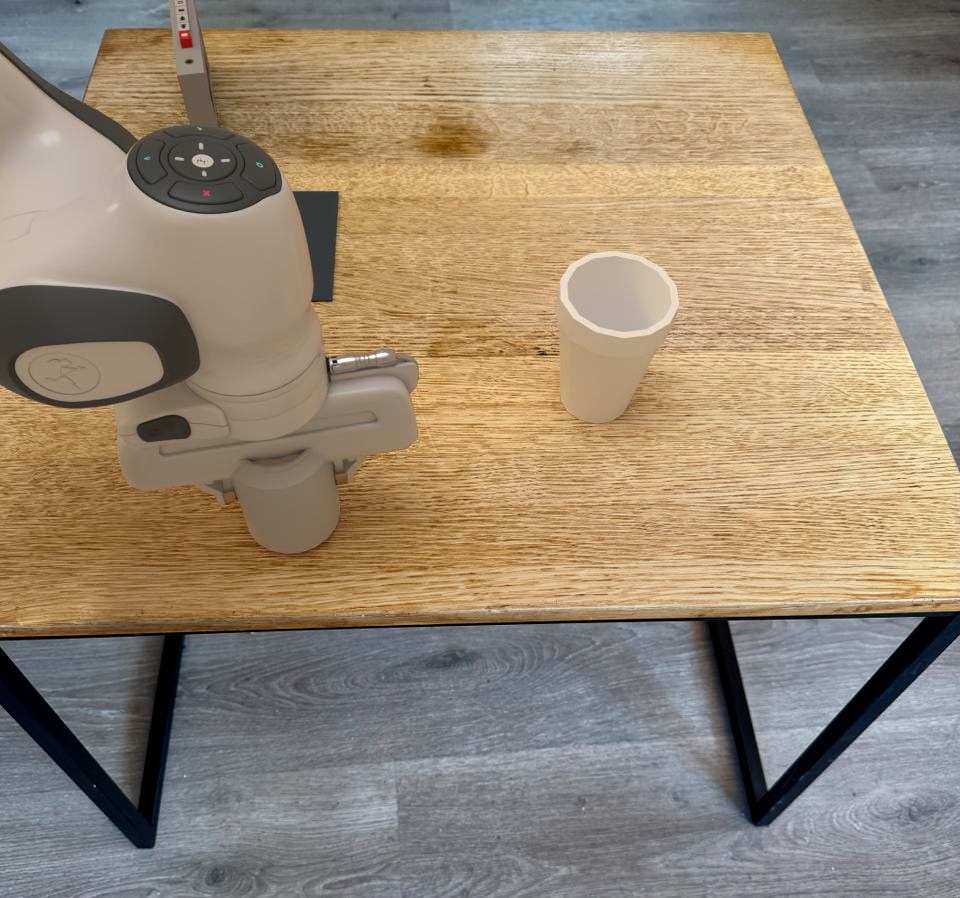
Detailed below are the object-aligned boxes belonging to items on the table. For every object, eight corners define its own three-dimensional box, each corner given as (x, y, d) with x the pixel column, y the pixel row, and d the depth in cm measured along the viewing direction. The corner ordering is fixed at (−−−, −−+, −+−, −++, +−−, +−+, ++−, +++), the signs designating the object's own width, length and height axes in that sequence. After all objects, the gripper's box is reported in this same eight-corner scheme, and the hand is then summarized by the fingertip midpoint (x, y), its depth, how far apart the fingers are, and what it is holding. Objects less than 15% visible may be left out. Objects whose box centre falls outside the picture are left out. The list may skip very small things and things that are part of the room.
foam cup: (665, 393, 80) (701, 290, 69) (607, 455, 75) (636, 357, 65) (581, 340, 83) (603, 234, 72) (521, 397, 79) (535, 294, 68)
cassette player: (221, 147, 97) (202, 63, 89) (196, 150, 96) (174, 66, 88) (209, 67, 105) (190, -17, 97) (186, 69, 105) (165, -14, 97)
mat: (162, 302, 83) (162, 301, 83) (185, 192, 92) (185, 191, 92) (332, 301, 84) (332, 299, 84) (338, 192, 94) (338, 191, 93)
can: (253, 568, 68) (223, 486, 58) (242, 488, 72) (212, 399, 62) (349, 547, 69) (335, 463, 60) (332, 470, 73) (317, 380, 64)
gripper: (409, 311, 59) (413, 432, 70) (91, 355, 56) (149, 474, 67) (427, 383, 55) (428, 498, 67) (89, 435, 52) (150, 546, 63)
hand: (286, 486), depth 67 cm, fingers closed on can, 7 cm apart
